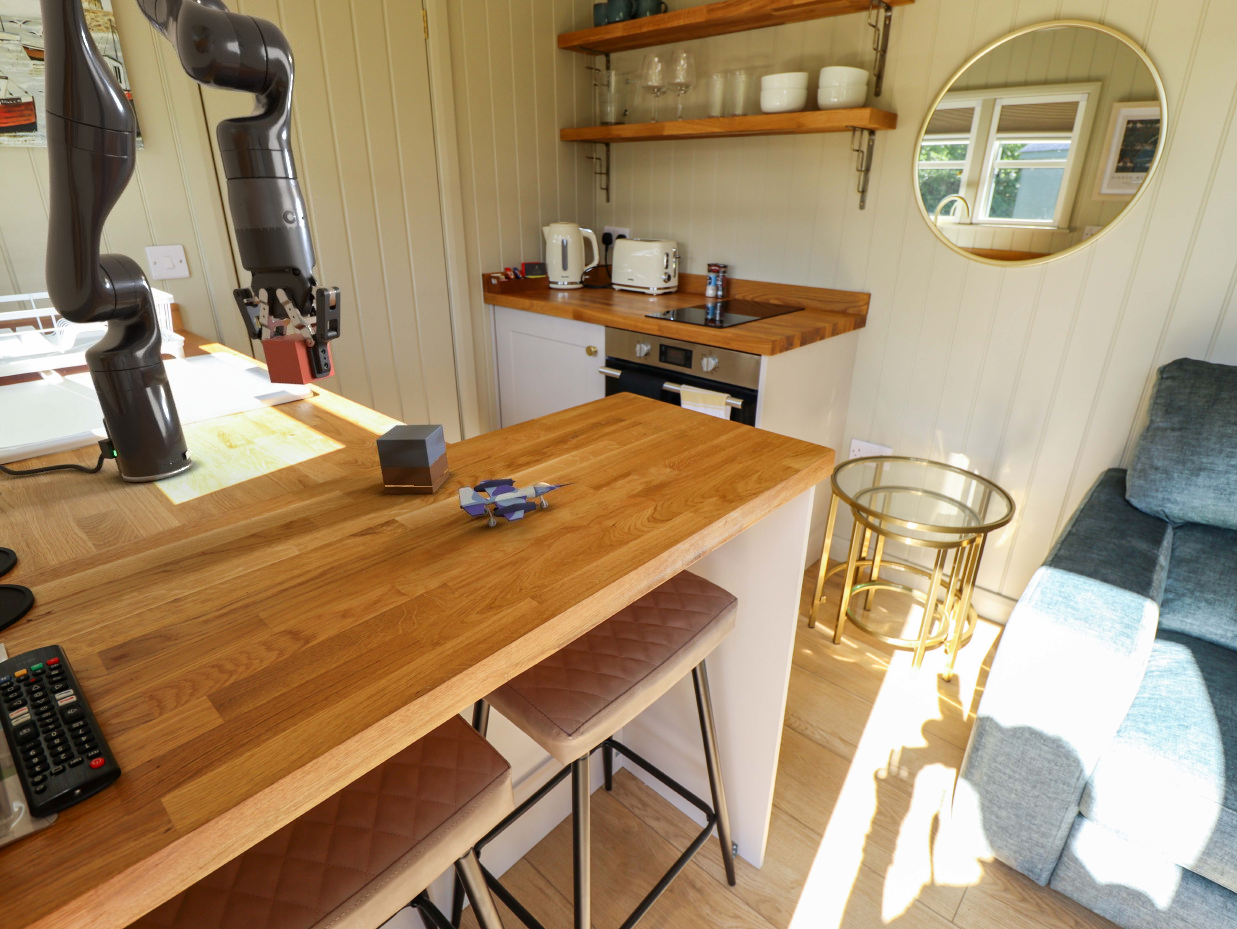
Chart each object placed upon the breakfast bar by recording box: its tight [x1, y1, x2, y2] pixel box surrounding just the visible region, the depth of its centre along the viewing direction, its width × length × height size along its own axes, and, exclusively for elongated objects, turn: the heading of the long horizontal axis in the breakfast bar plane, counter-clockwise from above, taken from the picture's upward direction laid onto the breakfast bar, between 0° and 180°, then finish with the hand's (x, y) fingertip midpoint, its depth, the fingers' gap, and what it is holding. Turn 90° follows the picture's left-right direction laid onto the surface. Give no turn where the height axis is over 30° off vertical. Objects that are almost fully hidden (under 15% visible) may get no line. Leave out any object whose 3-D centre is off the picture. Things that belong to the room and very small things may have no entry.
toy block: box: [261, 332, 335, 386], centre depth 78 cm, size 5×5×5 cm
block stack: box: [375, 424, 450, 495], centre depth 94 cm, size 7×7×8 cm
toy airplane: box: [458, 477, 579, 528], centre depth 84 cm, size 13×14×4 cm
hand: (302, 375), depth 79 cm, fingers closed on toy block, 5 cm apart
